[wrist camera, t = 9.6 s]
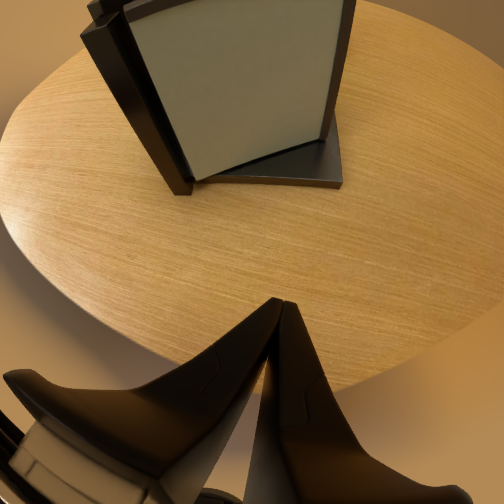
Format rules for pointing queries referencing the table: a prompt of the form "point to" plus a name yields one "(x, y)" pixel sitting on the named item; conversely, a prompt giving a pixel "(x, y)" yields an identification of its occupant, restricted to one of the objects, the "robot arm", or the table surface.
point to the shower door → (243, 72)
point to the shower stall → (162, 133)
